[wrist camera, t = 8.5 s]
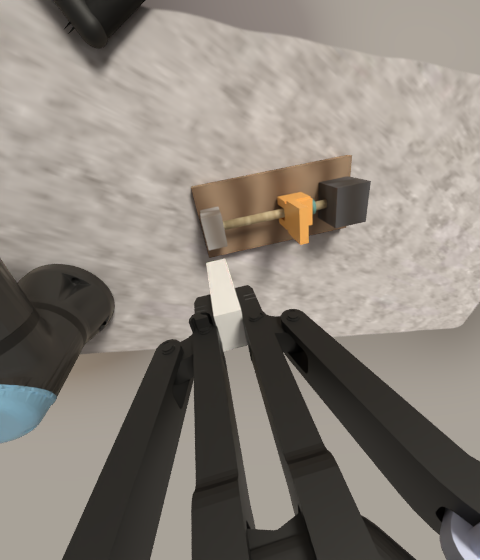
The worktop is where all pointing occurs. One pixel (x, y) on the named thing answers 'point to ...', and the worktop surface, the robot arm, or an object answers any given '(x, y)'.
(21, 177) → the worktop surface
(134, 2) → the door handle
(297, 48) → the worktop surface
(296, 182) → the rail
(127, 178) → the worktop surface
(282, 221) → the orange sliding rod block
